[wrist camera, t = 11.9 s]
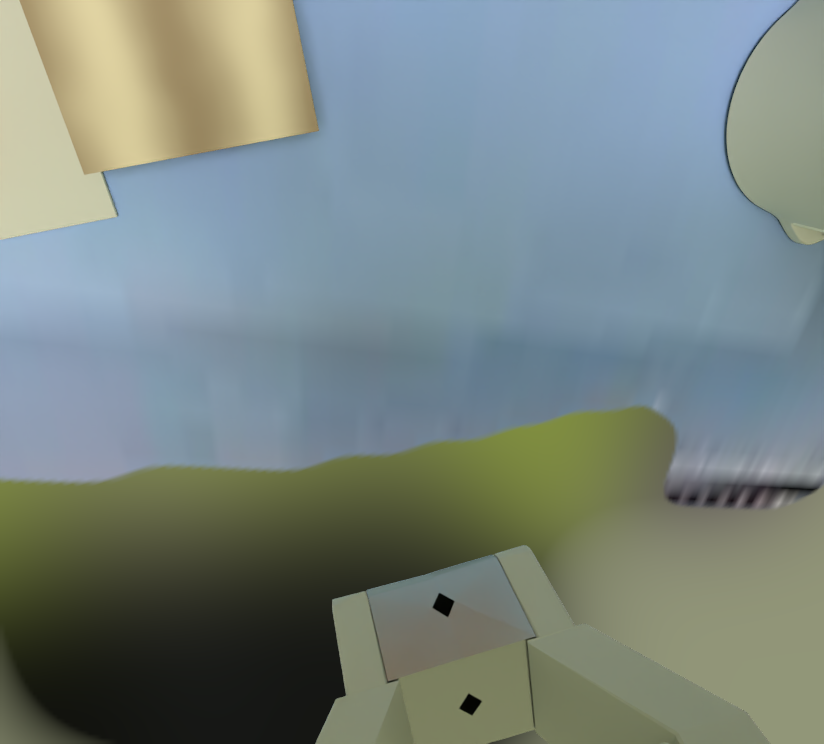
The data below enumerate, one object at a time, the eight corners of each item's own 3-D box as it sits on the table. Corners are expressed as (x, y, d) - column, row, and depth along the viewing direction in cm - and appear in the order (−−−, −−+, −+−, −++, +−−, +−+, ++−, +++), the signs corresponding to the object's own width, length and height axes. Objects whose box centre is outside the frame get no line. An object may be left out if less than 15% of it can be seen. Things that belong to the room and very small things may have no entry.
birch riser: (248, -183, 32) (249, -210, 29) (311, 122, 39) (318, 130, 35) (-14, -151, 30) (-47, -176, 27) (98, 162, 37) (84, 174, 34)
